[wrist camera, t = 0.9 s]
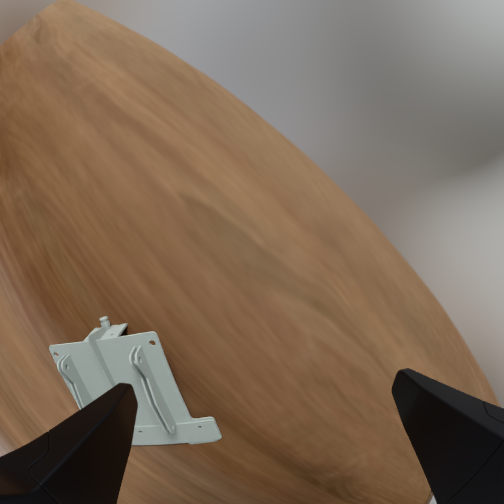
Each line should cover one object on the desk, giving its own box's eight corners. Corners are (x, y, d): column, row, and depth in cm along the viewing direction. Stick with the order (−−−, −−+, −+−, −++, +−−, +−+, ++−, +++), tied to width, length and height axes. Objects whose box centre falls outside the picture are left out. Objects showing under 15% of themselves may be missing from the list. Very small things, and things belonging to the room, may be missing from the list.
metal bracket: (20, 347, 16) (173, 327, 18) (50, 323, 22) (183, 299, 23) (90, 460, 19) (226, 458, 20) (104, 428, 25) (223, 419, 26)
